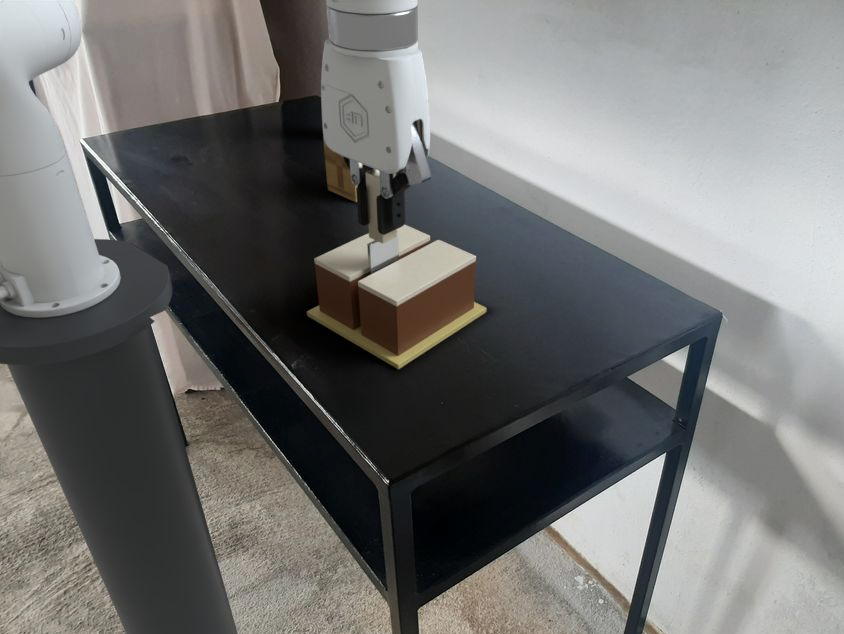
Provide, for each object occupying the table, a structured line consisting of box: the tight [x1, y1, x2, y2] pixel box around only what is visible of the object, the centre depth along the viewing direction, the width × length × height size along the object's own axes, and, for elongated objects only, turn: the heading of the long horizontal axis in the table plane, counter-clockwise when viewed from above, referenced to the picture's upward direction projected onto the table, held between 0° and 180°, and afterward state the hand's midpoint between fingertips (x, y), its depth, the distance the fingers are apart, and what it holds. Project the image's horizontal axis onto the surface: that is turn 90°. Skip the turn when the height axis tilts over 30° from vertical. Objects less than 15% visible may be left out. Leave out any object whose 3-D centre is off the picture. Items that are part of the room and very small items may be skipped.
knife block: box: [322, 136, 397, 203], centre depth 104 cm, size 8×6×8 cm
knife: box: [365, 169, 399, 275], centre depth 74 cm, size 4×2×16 cm, turn 139°
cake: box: [306, 223, 487, 370], centre depth 78 cm, size 14×14×7 cm
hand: (381, 223), depth 72 cm, fingers closed on knife, 2 cm apart
